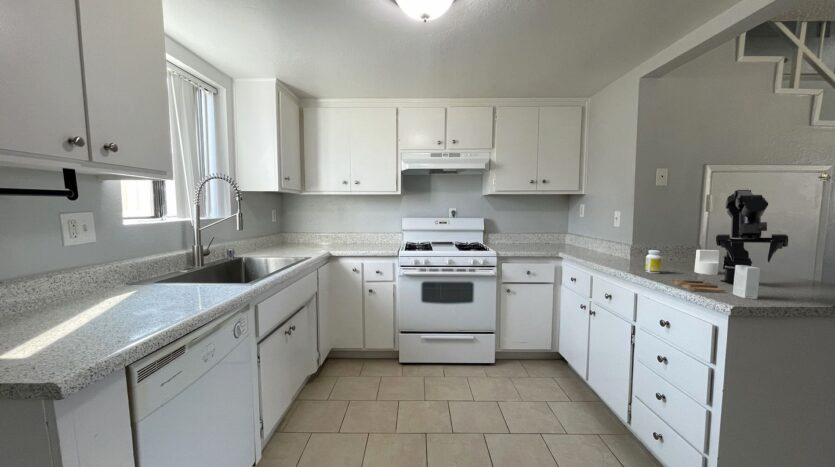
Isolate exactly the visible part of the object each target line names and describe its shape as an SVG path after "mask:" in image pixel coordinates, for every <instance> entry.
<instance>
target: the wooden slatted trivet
mask: <svg viewBox="0 0 835 467" xmlns="http://www.w3.org/2000/svg"><path fill="white" fill-rule="evenodd" d="M672 284H674V285H676V286H679V287H682V288H683V289H686V290H689V291H690V292H695V293H697V292H698V293H699V292H700V293H716V292H721V293H722V294H725V289H723V288H720V287H719V285H717V284H714V283H712V282H709V281H705V280H690V279H678V280H672ZM721 293H720V294H721Z"/></svg>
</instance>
